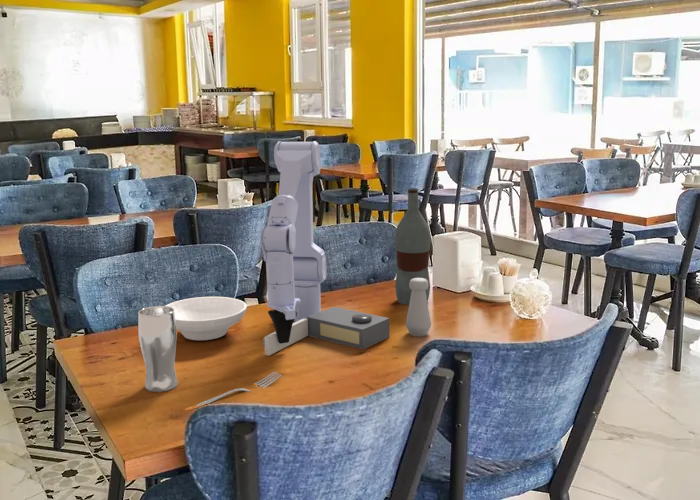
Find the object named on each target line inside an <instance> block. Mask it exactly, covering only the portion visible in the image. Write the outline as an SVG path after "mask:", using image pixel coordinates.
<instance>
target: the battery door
mask: <svg viewBox="0 0 700 500" xmlns="http://www.w3.org/2000/svg"><path fill="white" fill-rule="evenodd" d="M306 337H309V336H308V318H303V319H301V320H299V321H297V322H296V321H294V322H293V324H292V328H291V333H290V339H289V342H288V343H281V344H280V343H279V342H278V338H277V333H276V331H274V332H271V333H270V334H267V335H266V336H264V338H262V347H264V355H265V356H271V355H273V354H275V353H277V352H278V351H281V350H283V349H284V348H287V347H289V346H290V345H292V344H294V343H297V342H298V341H300V340H302V339H305V338H306Z"/></svg>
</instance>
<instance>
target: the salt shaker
mask: <svg viewBox="0 0 700 500" xmlns="http://www.w3.org/2000/svg"><path fill="white" fill-rule="evenodd" d="M409 287H410V289H412V292H411V298H410V303H409V305H408V309H407V316H406V320H405V326H406V329H407V331H408V334H409V335H411V336H413V337H424V336H427V335H428V334H429V331H430V329H431V326H432V321H431V315H430V310H429V305H428V301H427V298H426V292H425V290H426V289H428V281H427V280H426V279H424V278H413V279H411V280H410V283H409Z"/></svg>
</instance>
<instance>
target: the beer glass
mask: <svg viewBox="0 0 700 500" xmlns="http://www.w3.org/2000/svg"><path fill="white" fill-rule="evenodd" d="M137 314H138V315H137V316H138V317H137V319H138V321H137V322H138V323H137V324H138V325H137V326H138V330H137V331H138V340H139V346H140V349H141V353H142V357H143V361H144V365H145V381H144V388H145V389H146V391H148V392H152V393H153V392H154V393H163V392H167V391H171V390H173V389H176V388H177V387H178V384H179V382H178V379H177V374H176V368H175V361H176V360H175V359H176V350H177V341H178V340H177V339H178V332H177V331H178V330H177V329H176V320H175V314H174V309H173V308H172V307H168V306H166V305H154V306H149V307H148V306H147V307H144V308H142V309H140V310H139V311H138V312H137Z"/></svg>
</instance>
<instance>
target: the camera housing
mask: <svg viewBox="0 0 700 500" xmlns="http://www.w3.org/2000/svg"><path fill="white" fill-rule="evenodd" d="M307 318H308V336H307V337H311V338H316V339H320V340H323V341H327V342H332V343H335V344H340V345H345V346H349V347H353V348H356V349H360V350H364V349H367V348H370V347H371V346H373V345H376V344H377V343H380V342H382V341H384V340H386V339H388V338H390V317H385V316H381V315H380V316H379V315H376V314H372V313H366V312H362V311H357V310H351V309H348V308H342V307H337V306H333V307H330V308H327V309H323V310H321V312H318V313H316V314H313V315H310V316H308V317H307Z"/></svg>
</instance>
